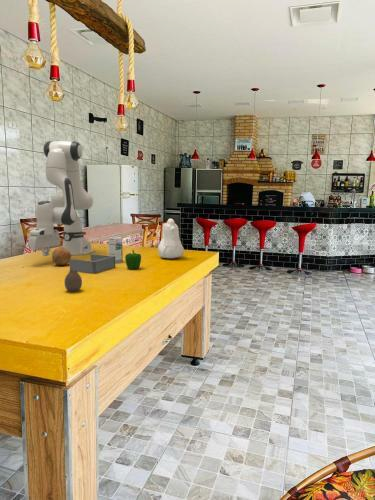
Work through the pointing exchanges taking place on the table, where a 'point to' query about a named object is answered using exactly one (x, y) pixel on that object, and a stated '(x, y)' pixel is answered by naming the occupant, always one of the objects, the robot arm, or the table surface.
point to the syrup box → (115, 248)
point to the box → (93, 264)
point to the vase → (73, 281)
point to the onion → (61, 256)
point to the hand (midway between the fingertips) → (45, 255)
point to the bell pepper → (133, 260)
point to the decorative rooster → (170, 241)
